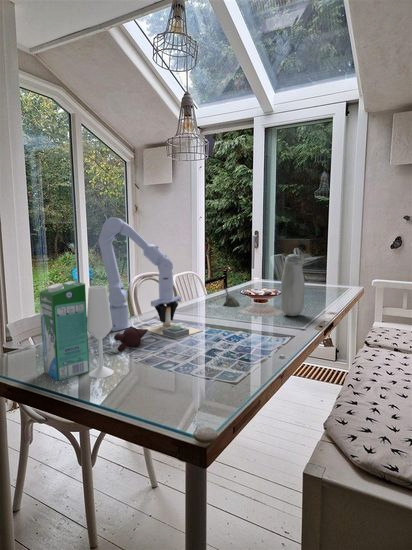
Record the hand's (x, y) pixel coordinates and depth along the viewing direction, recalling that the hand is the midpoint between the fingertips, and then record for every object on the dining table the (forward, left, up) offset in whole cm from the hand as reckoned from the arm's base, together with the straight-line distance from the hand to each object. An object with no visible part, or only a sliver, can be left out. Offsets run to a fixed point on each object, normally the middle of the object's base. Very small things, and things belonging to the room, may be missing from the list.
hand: (166, 321), depth 154 cm
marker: (0, 0, -2) cm, 2 cm away
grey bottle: (+50, -29, -2) cm, 58 cm away
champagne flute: (-46, -25, -2) cm, 52 cm away
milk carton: (-52, -17, -2) cm, 55 cm away
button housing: (-6, -12, -2) cm, 14 cm away
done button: (-6, -12, -1) cm, 14 cm away
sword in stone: (+51, +7, -3) cm, 52 cm away
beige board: (-3, -6, -2) cm, 7 cm away
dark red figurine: (-25, -11, -2) cm, 28 cm away
